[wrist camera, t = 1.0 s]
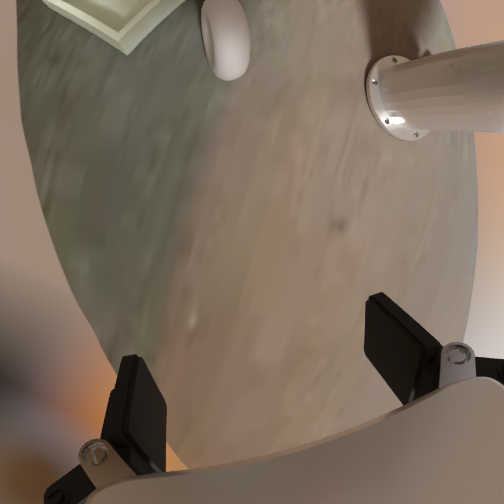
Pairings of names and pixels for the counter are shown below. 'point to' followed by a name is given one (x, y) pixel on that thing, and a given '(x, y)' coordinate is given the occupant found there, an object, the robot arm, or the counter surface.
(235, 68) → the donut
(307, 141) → the counter surface
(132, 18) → the bin
